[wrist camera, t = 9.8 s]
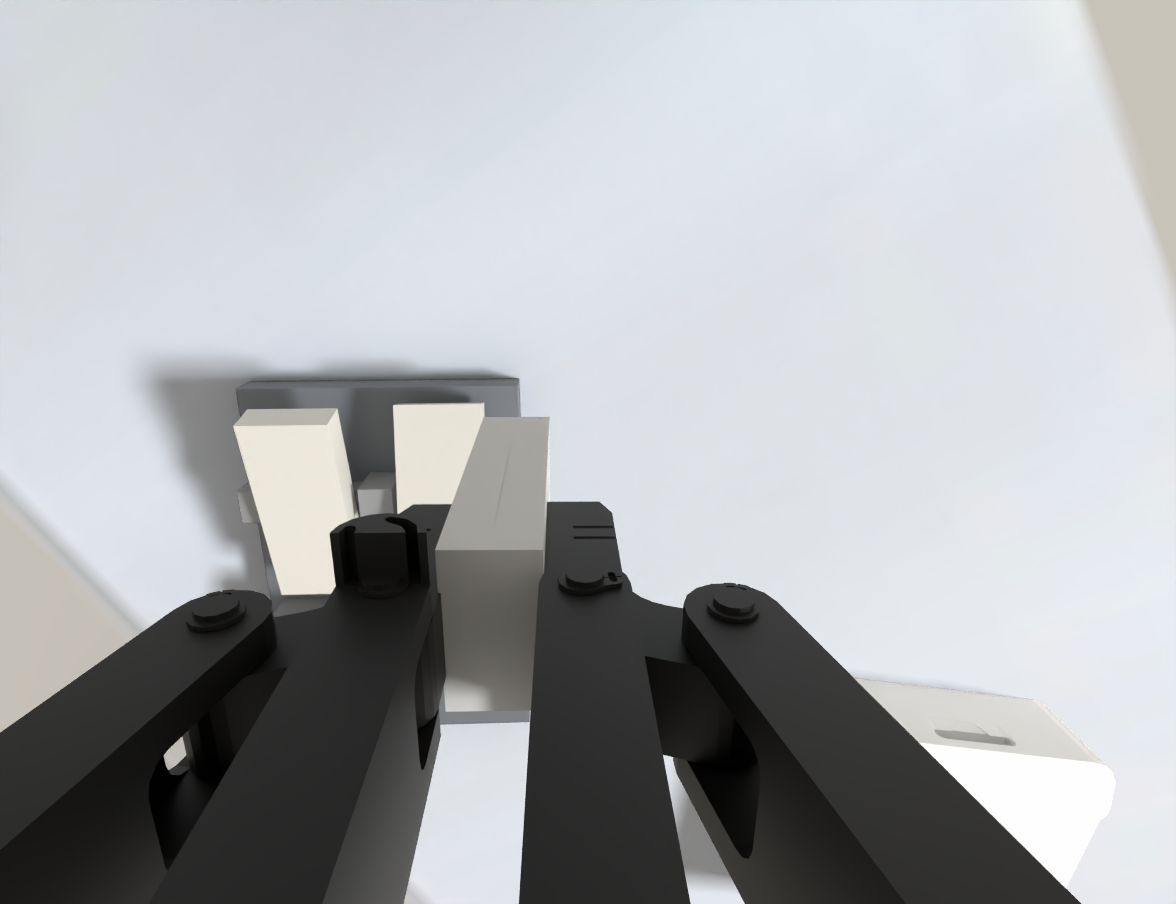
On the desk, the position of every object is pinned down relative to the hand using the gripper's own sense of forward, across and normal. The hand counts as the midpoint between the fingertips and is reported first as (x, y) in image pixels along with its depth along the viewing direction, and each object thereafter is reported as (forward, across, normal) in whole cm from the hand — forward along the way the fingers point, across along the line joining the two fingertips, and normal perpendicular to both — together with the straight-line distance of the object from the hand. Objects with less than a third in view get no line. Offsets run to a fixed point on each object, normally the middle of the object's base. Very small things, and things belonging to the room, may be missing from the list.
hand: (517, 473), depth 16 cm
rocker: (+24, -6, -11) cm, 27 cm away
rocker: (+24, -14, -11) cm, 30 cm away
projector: (+29, +28, -39) cm, 56 cm away
